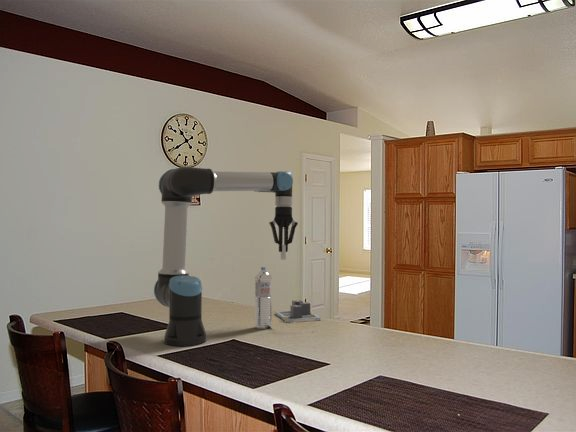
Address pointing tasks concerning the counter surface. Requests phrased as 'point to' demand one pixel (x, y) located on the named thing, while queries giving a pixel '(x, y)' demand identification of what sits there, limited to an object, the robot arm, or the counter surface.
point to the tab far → (296, 302)
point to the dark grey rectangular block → (295, 311)
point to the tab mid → (305, 308)
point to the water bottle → (263, 300)
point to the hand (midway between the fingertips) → (283, 259)
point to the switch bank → (286, 316)
